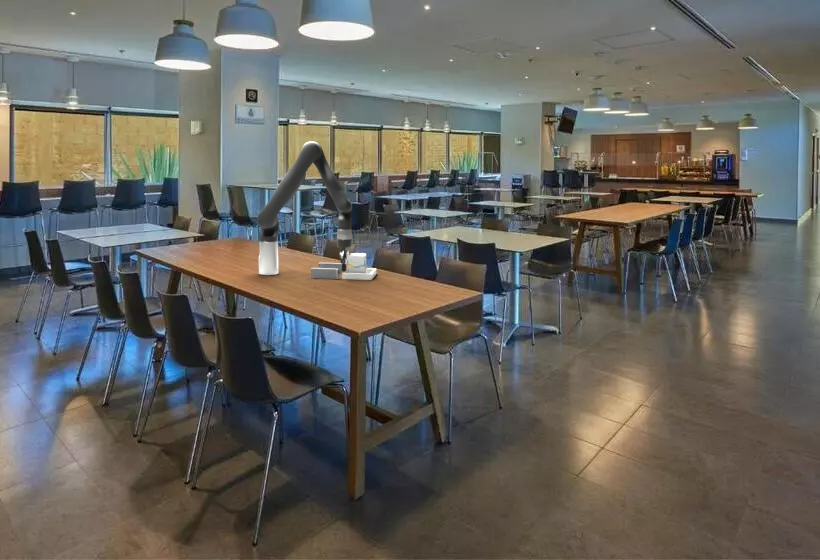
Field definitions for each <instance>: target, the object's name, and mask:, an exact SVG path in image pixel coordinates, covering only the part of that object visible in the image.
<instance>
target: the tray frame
mask: <svg viewBox="0 0 820 560" xmlns="http://www.w3.org/2000/svg"><path fill="white" fill-rule="evenodd" d="M376 275H377V268H371V267H370V268H368V267H366V274H364V273H348V272H345V273H341V280H358V281H359V280H361V281H372V280H373V279H374V278H375V277H376Z"/></svg>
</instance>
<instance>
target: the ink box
mask: <svg viewBox="0 0 820 560" xmlns="http://www.w3.org/2000/svg"><path fill="white" fill-rule="evenodd" d="M366 268H367V253H363V252H361V253H359V252H354V253H351V252H350V253H349V255H348V262H347V273H364V274H366Z"/></svg>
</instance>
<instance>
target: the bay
mask: <svg viewBox="0 0 820 560" xmlns="http://www.w3.org/2000/svg"><path fill="white" fill-rule="evenodd" d="M342 273H346V271H342V264H341V262H339V263H338V262H318V267H311V268H310V278H311V279H325V280H327V279H328V280H329V279H330V280H338V279H339V276H340V275H339V274H342Z"/></svg>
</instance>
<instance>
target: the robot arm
mask: <svg viewBox="0 0 820 560" xmlns="http://www.w3.org/2000/svg"><path fill="white" fill-rule="evenodd" d="M312 164H314V166H315V168H316V169H317V171H318V173H319V175H320V177H321V180H322V183H323V184H324V187H325V188H326V190H327V192H328V193H329V195H330V197H331V199H332V200H333V202H334V205H335V207H336V209H337V211H338V219H337V231H336V247H337V248H340V250H339V261H340V262H339V263H341V264H342V271H345V272H347V271H348V255H350V250H349V248H351V247H352V246H353V242H352V241H353V240H352V239H353V238H352V236H353V234H352V233H353V232H352V214H353V203H352V201H351V200H350V199H349V198H348V197H347V195H346V194H345V193H344V189H343V187H342V185H341V184H340V181H339V180H338V178H337V176H336V175H335V173H334V171H333V170H332V168H331V167H330V165H329V163H328V159H327V158H326V156H325V152H324V150H323V147H322V145H321V144H320V142H317V141H307V142H305V143H304V144H303V145H302V147H301V150H300V151H299V154H298V156H297V158H296V159H295V161H294V163H293V164H292V165H291V166H290V167H289V169H288V171H287V172H286V174H285V175H284V176H283V177H282V179H281V181H280V182H279V183H278V185H277V187H276V189H275V190H274V192H273V194H272V195H271V198H270V199H269V200H268V202H267V203H266V205H265V206H264V207H263V208H262V209H261V211H259V213H258V215H257V217H256V223H257V225H258V226H259V228H260V234H259V237H258V238H259V243H258V244H259V255H258V275H262V276H263V275H264V276H271V275H272V276H274V275H277V274H279V242H278V238H279V230H280V229H279V228H280V227H279V223H280V222H279V214H280V212H281V210H283V208H284V207H285V206H286V205H287V204H288V203H289V201H291V200H292V199H293V198H294V196H295V195H296V193H297V191H298V190H299V189H300V187H301V186H302V183H303V182H304V179H305V177H306V174H307V172H308V170H309V168H310V167H311V166H312Z"/></svg>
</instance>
